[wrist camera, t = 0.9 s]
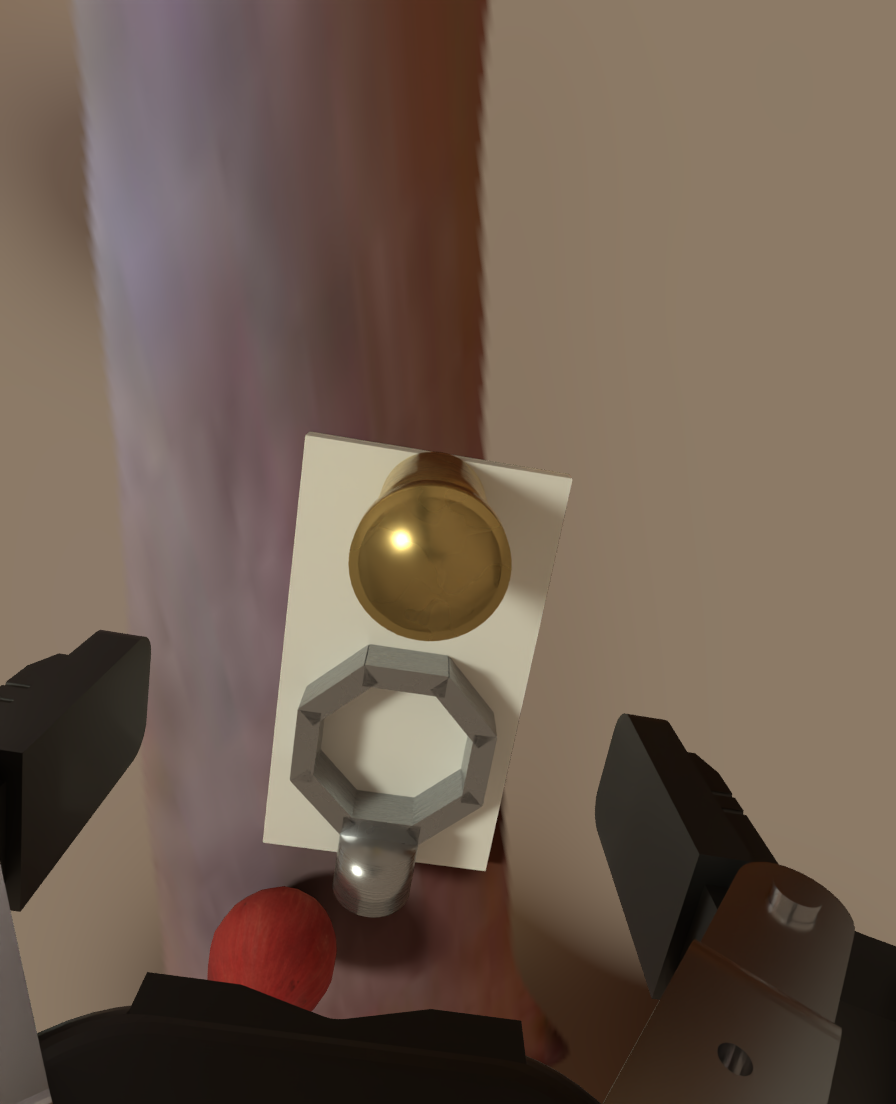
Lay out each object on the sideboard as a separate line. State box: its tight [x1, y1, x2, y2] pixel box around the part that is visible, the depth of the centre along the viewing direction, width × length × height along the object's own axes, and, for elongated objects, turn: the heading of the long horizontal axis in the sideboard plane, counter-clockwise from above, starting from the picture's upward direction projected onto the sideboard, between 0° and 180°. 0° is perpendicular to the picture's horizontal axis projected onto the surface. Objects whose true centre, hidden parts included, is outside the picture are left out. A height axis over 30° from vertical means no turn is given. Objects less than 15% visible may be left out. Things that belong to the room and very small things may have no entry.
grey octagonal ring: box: [290, 644, 497, 917], centre depth 31 cm, size 11×9×4 cm
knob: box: [348, 452, 512, 641], centre depth 25 cm, size 5×5×8 cm
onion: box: [208, 886, 337, 1011], centre depth 33 cm, size 6×6×8 cm
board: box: [263, 432, 573, 871], centre depth 32 cm, size 20×11×1 cm, turn 171°
